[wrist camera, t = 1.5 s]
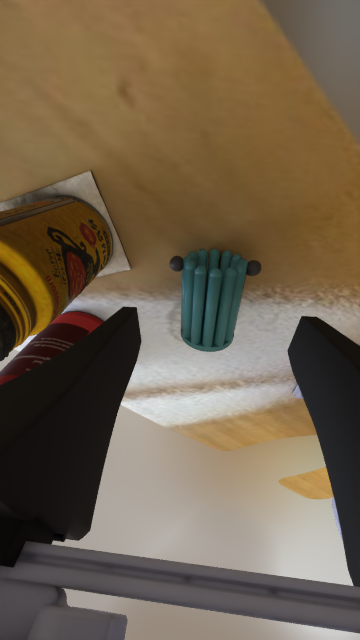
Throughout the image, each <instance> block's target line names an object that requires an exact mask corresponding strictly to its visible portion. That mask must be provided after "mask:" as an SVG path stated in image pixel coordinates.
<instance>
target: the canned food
mask: <svg viewBox="0 0 360 640" xmlns="http://www.w3.org/2000/svg"><path fill="white" fill-rule="evenodd" d="M102 323H103V321H101V320H100V319H98V318H96V317H94V316H92V315H89V314H86V313H82V312H67V313H64V314H62V315H59V316H57V318H56V319H55V320H54V321H53V322H52V323H51V324H50V325H48V326H47V327H46V328H45V329H44V330H43V331H41V332H40V333H38V334H37V335H36V336H35V337H34V338H33V339H32V340H31V341H30V342H29V343H28V344H27V345H26V346H25V347H24V348H23V349H22V350H21V351H20V352H19V353H18V354H17V355H16V356H15V357H14V358H13V360H11V361H10V363H8V364H7V365H6V366H5V367H4V369H3V370H2V371H1V372H0V385H1V384H3V383H5V382H7V381H9V380H11V379H14V378H16V377H18V376H19V375H21V374H23V373H25V372H27V371H29V370H31V369H33V368H35V367H37V366H39V365H41V364H43V363H44V362H46V361H48V360H50V359H51V358H53V357H55V356H56V355H58V354H60V353H61V352H63V351H65V350H66V349H68V348H69V347H71V346H72V345H74V344H75V343H76V342H78V341H79V340H81V339H82V338H83V337H85V336H86V335H88V334H89V333H91V332H92V331H93V330H94V329H96V328H97V327H98V326H100V325H101V324H102Z"/></svg>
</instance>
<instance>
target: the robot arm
mask: <svg viewBox="0 0 360 640" xmlns="http://www.w3.org/2000/svg"><path fill="white" fill-rule="evenodd" d="M140 345H141V335H140V328H139V321H138V313H137V307H122V308H121V309H120V310H118V311H117V312H116V313H115V314H113V315H112V316H111V317H110V318H108V319H107V320H106V321H105V322H103V323H102V324H101V325H100V326H98V327H97V328H96V329H94V330H93V331H92V332H91V333H89V334H88V335H86V336H85V337H83V338H82V339H81V340H79V341H78V342H76V343H75V344H74V345H72V346H71V347H69V348H68V349H66V350H65V351H63V352H61V353H60V354H58V355H56V356H55V357H53V358H51V359H50V360H48V361H46V362H44V363H43V364H41V365H39V366H37V367H35V368H33V369H31V370H29V371H27V372H25V373H23V374H21V375H19V376H18V377H16V378H14V379H11V380H9V381H7V382H5V383H3V384H1V385H0V640H124V638H125V632H126V626H127V617H126V615H122V614H116V613H110V612H105V611H99V610H93V609H86V608H78V607H70V606H68V604H67V601H66V600H67V599H66V598H67V597H66V593H65V591H64V589H62V588H66V589H73V590H79V591H86V592H93V593H99V594H105V595H112V596H118V597H125V598H131V599H138V600H144V601H151V602H157V603H164V604H171V605H177V606H184V607H190V608H197V609H203V610H210V611H217V612H224V613H230V614H236V615H243V616H250V617H256V618H262V619H269V620H276V621H283V622H289V623H295V624H302V625H309V626H315V627H322V628H329V629H335V630H341V631H348V632H354V633H360V346H359V345H357V344H356V343H355V342H353V341H352V340H350V339H349V338H347V337H346V336H344V335H343V334H342V333H340V332H339V331H337V330H336V329H335V328H333V327H332V326H330V325H329V324H327V323H326V322H324V321H323V320H321V319H319V318H318V317H308V316H301V319H300V321H299V324H298V326H297V329H296V331H295V334H294V336H293V339H292V341H291V343H290V346H289V348H288V355H289V359H290V364H291V367H292V371H293V374H294V376H295V379H296V381H297V384H298V385H297V387H296V389H295V390H294V392H293V395H294V397H296V398H303V399H304V401H305V403H306V406H307V408H308V411H309V413H310V416H311V418H312V421H313V423H314V426H315V429H316V432H317V435H318V439H319V442H320V445H321V449H322V453H323V456H324V460H325V464H326V467H327V471H328V475H329V479H330V483H331V487H332V491H333V499H332V505H333V512H334V516H335V520H336V524H337V526H338V530H339V532H340V535H341V537H342V540H343V543H344V549H345V555H346V560H347V566H348V571H349V574H350V577H351V579H352V582H353V585H354V586H348V585H341V584H334V583H327V582H319V581H312V580H305V579H298V578H290V577H283V576H276V575H268V574H261V573H254V572H247V571H239V570H232V569H225V568H218V567H210V566H203V565H195V564H188V563H181V562H174V561H166V560H160V559H152V558H145V557H137V556H131V555H123V554H116V553H108V552H102V551H94V550H87V549H79V548H72V547H65V546H58V545H51V544H52V542H53V540H54V541H61V542H64V541H65V539H70V540H78V541H79V540H80V539H82V538H83V537H84V536H85V535H86V534H87V533H88V532H89V531H90V528H91V523H92V518H93V514H94V509H95V504H96V499H97V494H98V490H99V485H100V481H101V476H102V472H103V468H104V463H105V459H106V454H107V451H108V447H109V443H110V439H111V435H112V431H113V428H114V424H115V420H116V416H117V413H118V410H119V407H120V404H121V401H122V398H123V396H124V393H125V391H126V388H127V385H128V383H129V380H130V377H131V375H132V372H133V370H134V367H135V364H136V361H137V358H138V354H139V350H140Z"/></svg>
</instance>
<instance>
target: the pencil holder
mask: <svg viewBox="0 0 360 640" xmlns="http://www.w3.org/2000/svg"><path fill="white" fill-rule="evenodd" d="M219 256H220V252H219V250H217V249H212V250H211V251H210V253H209V262H208V273H207V269H206V265H207V251H206V250H204V249H201V250H199V251H198V253H196V252H190V253H189V254H188V256H186V257H185V258H184V259H183V258H182V257H180V256H174V257H173V258H172V259H171V260H170V267H171V269H172V270H174V271H181V270H182V269H183V273H182V310H181V336H182V339H183V340H184V342H185V343H186V344H187V345H189V346H190V347H192V348H194V349H197V350H200V351H206V352H214V351H220V350H223V349H225V348H226V347H228V346H229V345H230V344H231V343H232V341H233V337H234V329H235V325H236V320H237V315H238V310H239V306H240V301H241V296H242V291H243V287H244V282H245V277H246V273H247V274H248V275H249V276H256V275H258V274H259V273H260V271H261V264H260V263H259V262H258V261H256V260H252V261H249V262H247V261H246V260H245V259H243V258H242V256H241V255H240V254H235V255H234V256H233V257H232V253H231V252H230V251H228V250H227V251H224V252H223V253H222V257H221V265H220V269H218V264H219ZM206 278H207V283H206ZM205 288H206V293H205ZM204 299H205V303H204ZM203 309H204V313H203Z"/></svg>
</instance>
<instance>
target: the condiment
mask: <svg viewBox="0 0 360 640" xmlns="http://www.w3.org/2000/svg"><path fill="white" fill-rule="evenodd" d="M126 270H131V268H130V265H129V263H128V261H127V258H126V255H125V253H124V251H123V248H122V245H121V243H120V240H119V238H118V236H117V233H116V230H115V228H114V226H113V224H112V221H111V219H110V217H109V214H108V211H107V209H106V207H105V205H104V203H103V200H102V198H101V196H100V194H99V191H98V189H97V186H96V184H95V182H94V179H93V177H92V174H91V172H90V171H89V172H86V173H83V174H80V175H78V176H75V177H72V178H69V179H67V180H64V181H61V182H58V183H56V184H53V185H50V186H47V187H44V188H41V189H38V190H36V191H33V192H30V193H28V194H25V195H22V196H19V197H16V198H14V199H11V200H8V201H5V202H2V203H0V361H2V360H4V358H5V357H8V355H9V352H11V351H12V350H13V349H14V348H15V347H17V346H19V345H21V344H22V343H23V342H24V341H25V340H26V339H27V337H28V336H32V335H36V334H38V333H40V332H41V331H43V330H44V329H45V328H46V327H47V326H48V325H50V324H51V323H52V322H53V321H54V320H55V319H56V318H57V316H58V315H60V314H61V313H62V312H63V311H64V309H66V307H67V306H68V305H69V304H70V303H71V302H72V301H73V300H74V299H75V298H76V297H77V296H78V295H79V294H80V293H81V292H82V291H83V289H84V288H85V287H86V286H88V285H89V283H91V281H92V280H93V279H94V278H95V277H99V276H103V275H108V274H112V273H117V272H121V271H126Z"/></svg>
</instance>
